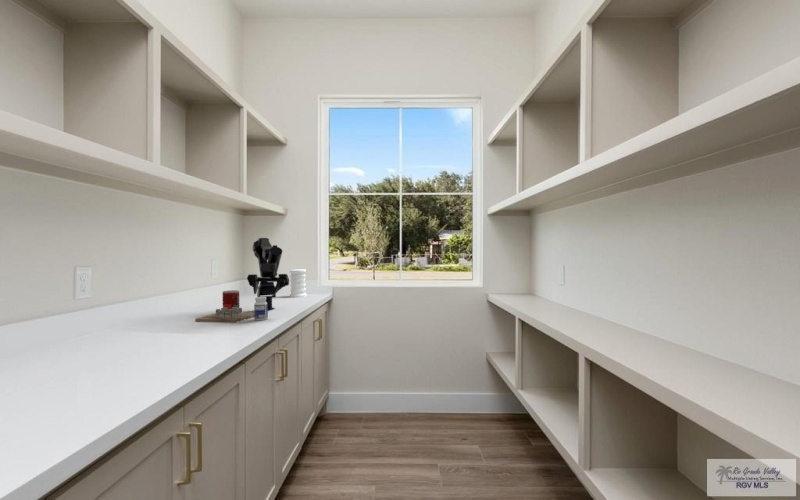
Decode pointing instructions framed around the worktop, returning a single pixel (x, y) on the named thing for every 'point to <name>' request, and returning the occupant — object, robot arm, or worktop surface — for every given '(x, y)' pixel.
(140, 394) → the worktop surface
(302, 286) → the decorative container
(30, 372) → the worktop surface
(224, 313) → the nut base
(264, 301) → the pill bottle
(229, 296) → the canned food
